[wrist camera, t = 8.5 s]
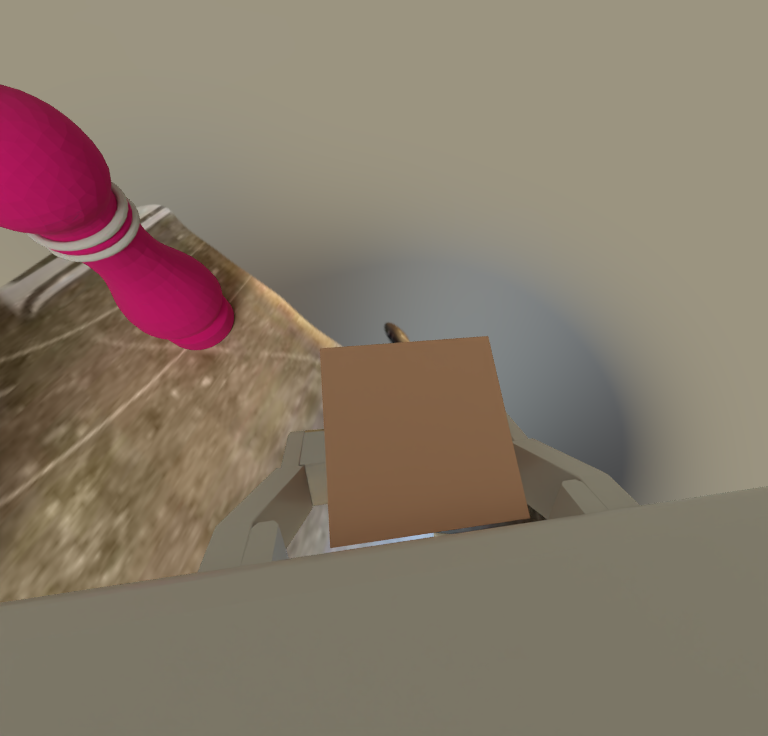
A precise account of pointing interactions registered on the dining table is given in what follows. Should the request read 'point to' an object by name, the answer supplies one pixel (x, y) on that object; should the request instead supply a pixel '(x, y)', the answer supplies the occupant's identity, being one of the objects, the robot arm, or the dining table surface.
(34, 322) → the dining table surface
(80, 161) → the pepper mill
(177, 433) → the dining table surface
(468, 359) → the terracotta block
